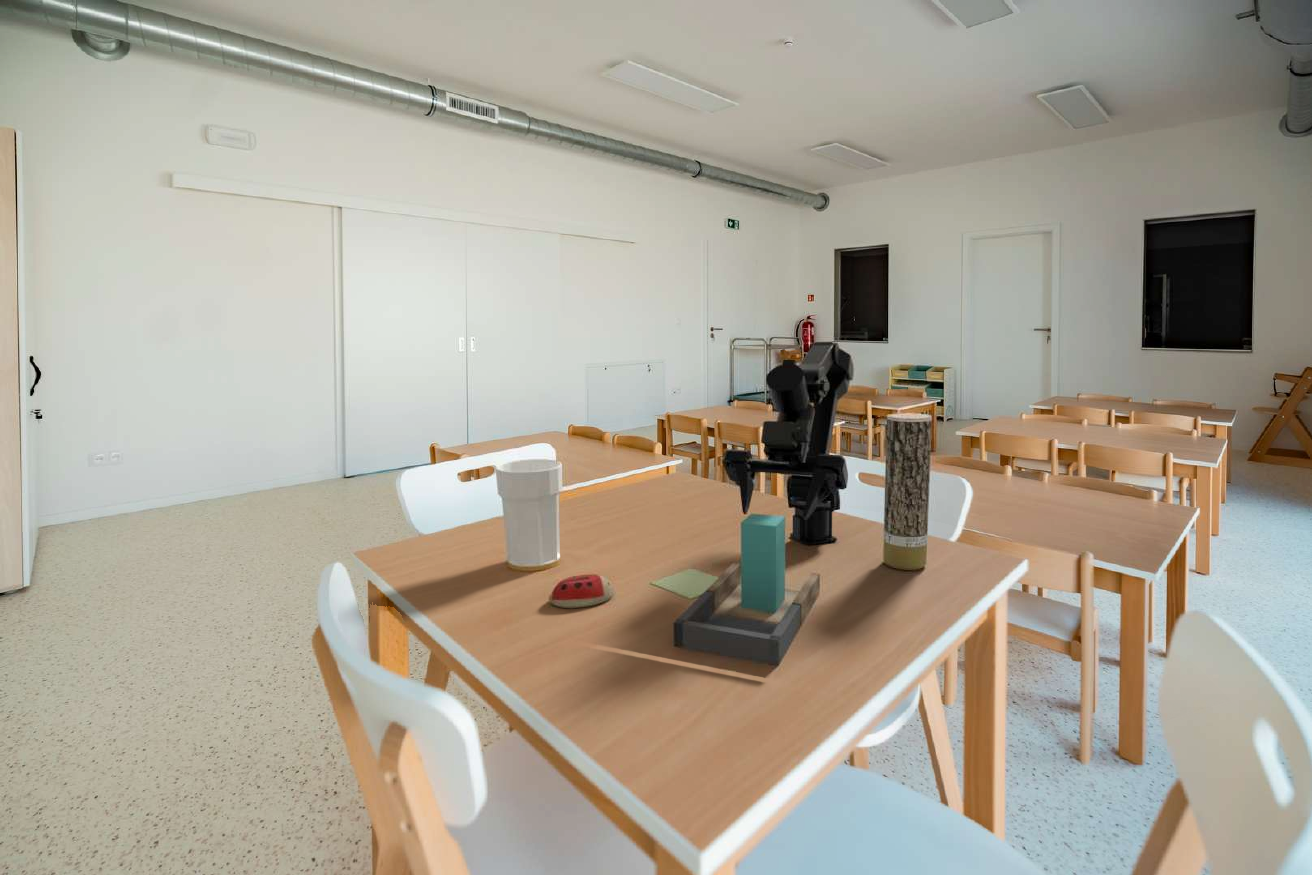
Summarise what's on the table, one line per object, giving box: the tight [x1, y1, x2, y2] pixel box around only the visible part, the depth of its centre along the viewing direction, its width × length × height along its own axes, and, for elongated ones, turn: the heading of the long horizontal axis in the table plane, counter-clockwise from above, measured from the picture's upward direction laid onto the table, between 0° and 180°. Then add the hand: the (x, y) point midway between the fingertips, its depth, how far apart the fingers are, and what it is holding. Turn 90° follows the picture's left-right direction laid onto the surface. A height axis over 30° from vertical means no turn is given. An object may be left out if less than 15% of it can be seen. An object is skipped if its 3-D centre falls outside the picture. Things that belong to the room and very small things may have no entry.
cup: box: [495, 458, 563, 572], centre depth 118 cm, size 11×11×17 cm
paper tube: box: [882, 412, 933, 571], centre depth 111 cm, size 7×7×25 cm
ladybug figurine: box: [548, 574, 615, 609], centre depth 102 cm, size 7×10×4 cm
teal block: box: [740, 513, 786, 613], centre depth 97 cm, size 5×5×12 cm
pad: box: [650, 568, 719, 600], centre depth 106 cm, size 9×9×1 cm
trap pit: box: [673, 591, 801, 667], centre depth 87 cm, size 11×13×4 cm
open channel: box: [706, 562, 821, 628], centre depth 98 cm, size 12×13×4 cm
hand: (774, 515), depth 101 cm, fingers open, 9 cm apart
